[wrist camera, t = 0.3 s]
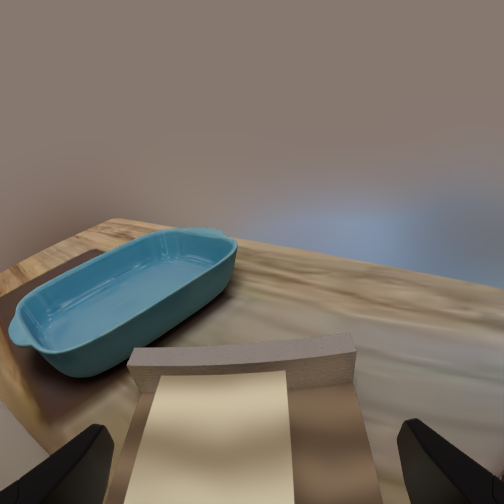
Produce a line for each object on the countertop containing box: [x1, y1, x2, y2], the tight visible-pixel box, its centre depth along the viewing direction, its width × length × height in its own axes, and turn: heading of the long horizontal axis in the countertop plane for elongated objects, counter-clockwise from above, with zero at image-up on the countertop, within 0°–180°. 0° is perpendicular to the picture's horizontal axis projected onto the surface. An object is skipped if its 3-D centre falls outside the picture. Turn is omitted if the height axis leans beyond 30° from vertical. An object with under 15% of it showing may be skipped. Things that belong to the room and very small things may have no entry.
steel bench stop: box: [127, 333, 357, 394], centre depth 27 cm, size 2×20×4 cm, turn 89°
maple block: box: [124, 370, 294, 504], centre depth 15 cm, size 12×8×8 cm, turn 179°
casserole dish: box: [9, 227, 238, 378], centre depth 42 cm, size 37×22×7 cm, turn 143°
